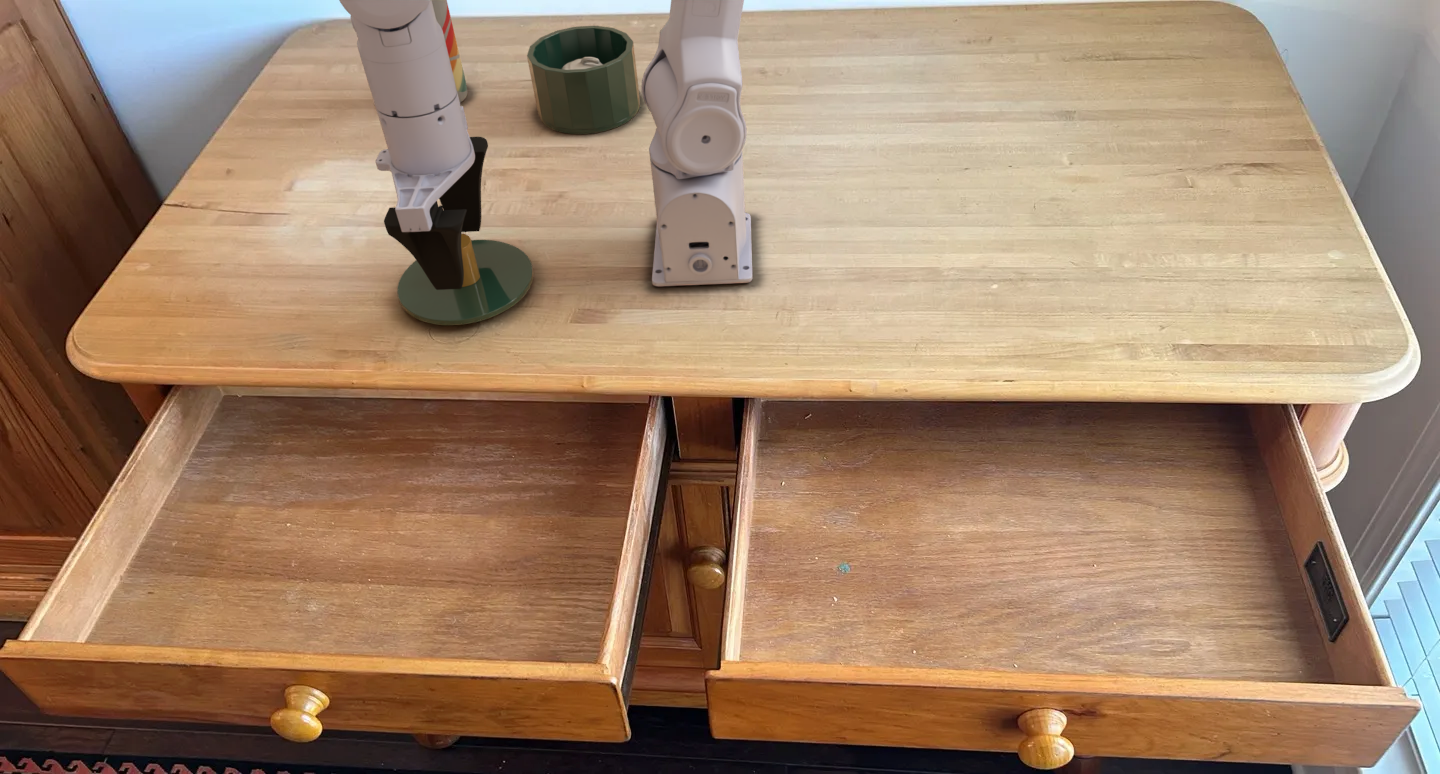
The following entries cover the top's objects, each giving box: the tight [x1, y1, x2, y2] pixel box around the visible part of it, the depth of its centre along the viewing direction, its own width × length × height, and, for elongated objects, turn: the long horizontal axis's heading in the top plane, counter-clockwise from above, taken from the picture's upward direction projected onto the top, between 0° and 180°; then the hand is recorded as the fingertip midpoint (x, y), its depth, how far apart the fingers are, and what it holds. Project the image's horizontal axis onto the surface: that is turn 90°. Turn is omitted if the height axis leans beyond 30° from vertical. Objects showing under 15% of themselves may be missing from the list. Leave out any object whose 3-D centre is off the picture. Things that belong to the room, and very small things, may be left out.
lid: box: [396, 233, 535, 326], centre depth 84 cm, size 11×11×5 cm
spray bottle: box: [432, 0, 468, 103], centre depth 103 cm, size 6×6×20 cm
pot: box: [526, 25, 641, 135], centre depth 104 cm, size 10×10×6 cm
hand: (458, 257), depth 83 cm, fingers open, 7 cm apart
